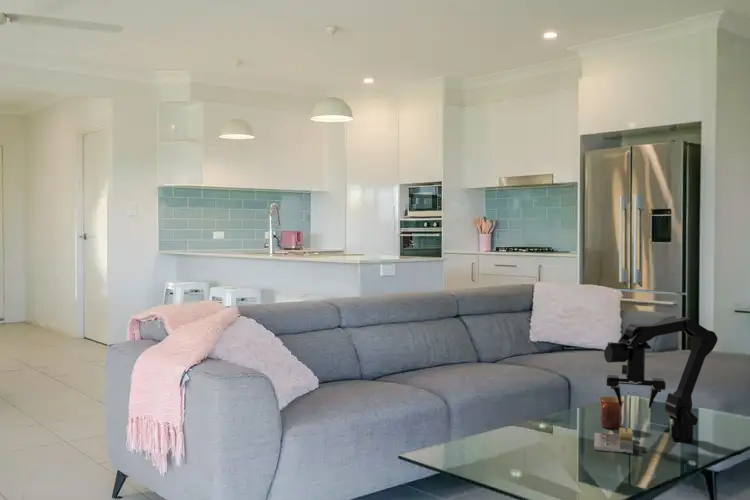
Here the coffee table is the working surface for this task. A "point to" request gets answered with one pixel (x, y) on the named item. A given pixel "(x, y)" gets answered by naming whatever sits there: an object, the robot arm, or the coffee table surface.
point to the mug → (611, 412)
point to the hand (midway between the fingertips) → (634, 407)
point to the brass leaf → (625, 434)
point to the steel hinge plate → (612, 443)
